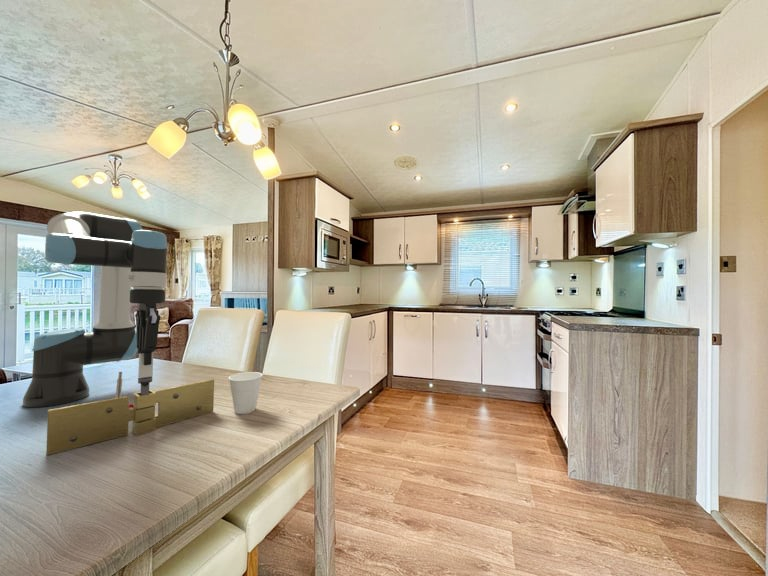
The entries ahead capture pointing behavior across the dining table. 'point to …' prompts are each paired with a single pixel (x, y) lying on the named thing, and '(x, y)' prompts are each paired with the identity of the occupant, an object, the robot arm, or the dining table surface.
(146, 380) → the pin
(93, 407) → the moving leaf
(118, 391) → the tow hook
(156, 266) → the robot arm
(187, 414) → the fixed leaf
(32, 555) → the dining table surface
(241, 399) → the cup
